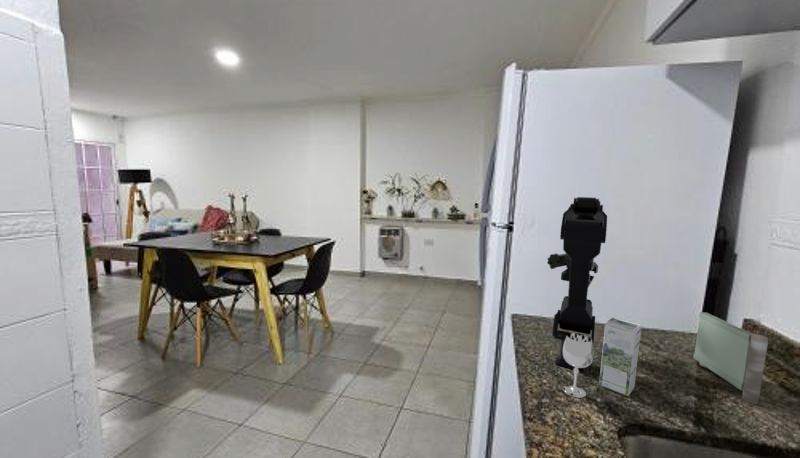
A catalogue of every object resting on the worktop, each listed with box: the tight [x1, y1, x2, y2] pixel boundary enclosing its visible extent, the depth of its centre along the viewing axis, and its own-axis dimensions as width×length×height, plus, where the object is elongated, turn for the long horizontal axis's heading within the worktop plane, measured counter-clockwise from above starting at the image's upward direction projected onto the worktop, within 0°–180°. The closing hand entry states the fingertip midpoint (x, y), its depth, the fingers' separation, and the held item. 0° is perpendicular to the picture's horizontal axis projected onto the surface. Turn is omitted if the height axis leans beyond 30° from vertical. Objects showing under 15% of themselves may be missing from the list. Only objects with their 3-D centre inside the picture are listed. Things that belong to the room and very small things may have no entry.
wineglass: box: [562, 332, 594, 399], centre depth 73 cm, size 6×6×12 cm
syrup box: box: [598, 317, 642, 397], centre depth 75 cm, size 6×6×14 cm
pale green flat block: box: [692, 311, 753, 391], centre depth 80 cm, size 14×2×12 cm, turn 174°
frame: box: [699, 333, 769, 405], centre depth 79 cm, size 17×4×14 cm, turn 173°
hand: (577, 301), depth 97 cm, fingers closed
